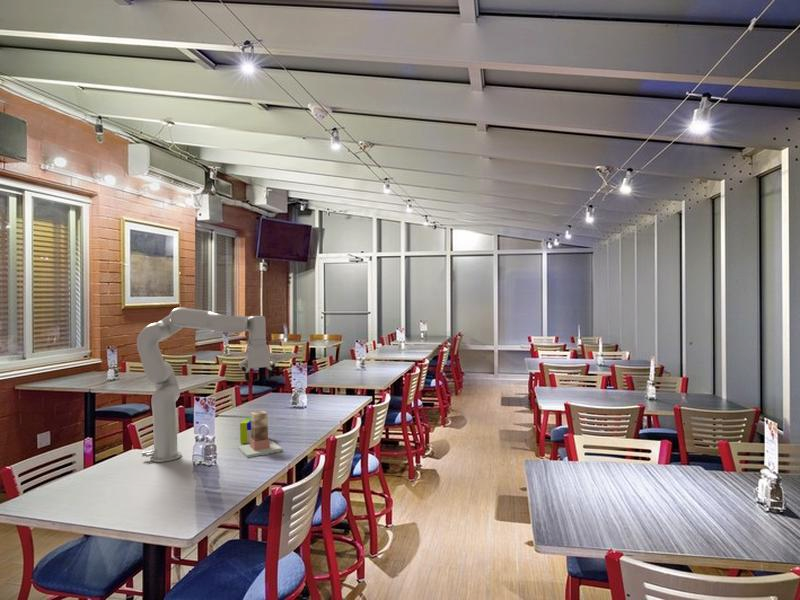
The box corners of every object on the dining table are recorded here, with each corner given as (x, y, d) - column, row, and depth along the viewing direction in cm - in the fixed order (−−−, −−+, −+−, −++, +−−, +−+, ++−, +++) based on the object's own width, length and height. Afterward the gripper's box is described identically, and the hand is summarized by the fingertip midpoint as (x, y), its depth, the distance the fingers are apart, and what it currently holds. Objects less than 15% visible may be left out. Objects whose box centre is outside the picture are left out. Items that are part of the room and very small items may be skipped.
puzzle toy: (261, 443, 244) (260, 422, 244) (240, 444, 245) (240, 423, 244) (267, 437, 254) (266, 417, 254) (247, 438, 255) (246, 418, 254)
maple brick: (254, 428, 230) (254, 414, 230) (251, 425, 235) (250, 412, 235) (267, 426, 233) (267, 413, 233) (264, 423, 238) (263, 410, 238)
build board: (247, 457, 223) (246, 445, 223) (237, 448, 237) (237, 437, 236) (282, 451, 231) (282, 439, 231) (271, 442, 245) (271, 432, 245)
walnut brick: (254, 441, 230) (254, 428, 230) (251, 438, 235) (250, 425, 235) (268, 439, 233) (267, 426, 233) (264, 436, 238) (263, 423, 238)
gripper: (240, 344, 226) (241, 383, 226) (278, 342, 235) (279, 379, 235) (236, 343, 232) (237, 380, 232) (273, 340, 241) (274, 377, 241)
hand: (258, 379), depth 234 cm, fingers open, 9 cm apart
